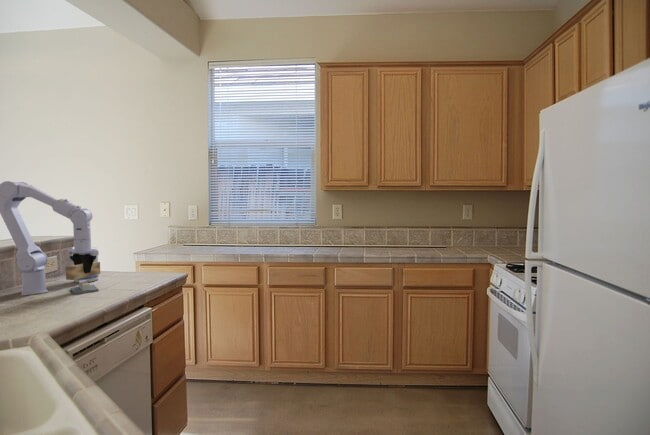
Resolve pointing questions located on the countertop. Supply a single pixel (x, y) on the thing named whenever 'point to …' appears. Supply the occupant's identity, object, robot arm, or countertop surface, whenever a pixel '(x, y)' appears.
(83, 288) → the fulcrum stand
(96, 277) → the supplement tub
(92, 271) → the oak stick
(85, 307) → the countertop surface
